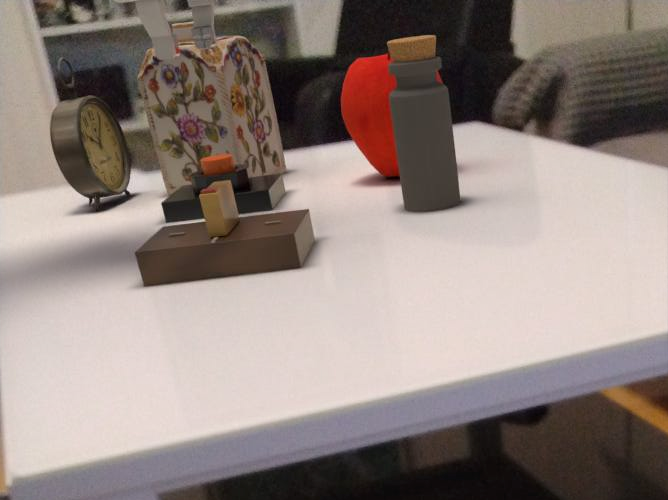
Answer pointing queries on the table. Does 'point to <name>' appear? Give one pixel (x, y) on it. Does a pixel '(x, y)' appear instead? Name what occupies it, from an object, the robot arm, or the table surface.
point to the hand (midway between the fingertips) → (188, 53)
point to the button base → (246, 189)
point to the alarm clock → (89, 145)
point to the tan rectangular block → (219, 208)
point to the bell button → (217, 164)
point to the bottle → (422, 126)
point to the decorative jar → (210, 107)
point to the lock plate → (226, 248)
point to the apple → (371, 111)
